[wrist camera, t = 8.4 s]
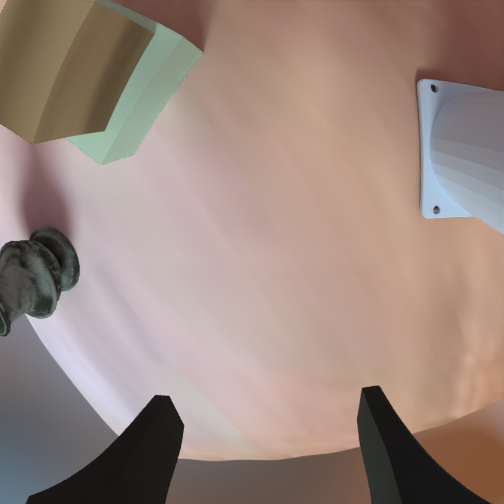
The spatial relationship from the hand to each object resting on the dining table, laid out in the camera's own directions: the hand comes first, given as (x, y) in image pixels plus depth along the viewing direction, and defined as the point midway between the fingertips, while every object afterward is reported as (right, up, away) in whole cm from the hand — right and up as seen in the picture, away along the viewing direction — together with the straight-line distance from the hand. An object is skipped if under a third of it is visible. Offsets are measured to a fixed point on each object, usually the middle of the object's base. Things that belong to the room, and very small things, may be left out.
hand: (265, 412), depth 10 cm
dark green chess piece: (-15, +5, +10) cm, 19 cm away
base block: (-8, +16, +4) cm, 18 cm away
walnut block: (-8, +15, +1) cm, 17 cm away
